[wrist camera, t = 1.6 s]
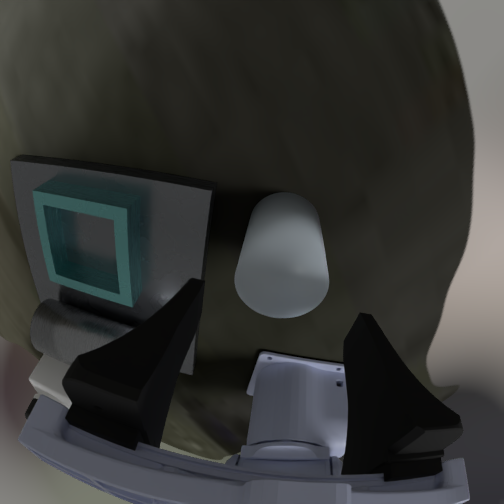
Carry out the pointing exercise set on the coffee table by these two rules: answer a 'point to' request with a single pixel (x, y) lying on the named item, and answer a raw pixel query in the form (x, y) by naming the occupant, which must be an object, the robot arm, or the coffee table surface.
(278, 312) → the white rounded cylinder
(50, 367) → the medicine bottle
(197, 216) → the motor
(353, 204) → the coffee table surface
